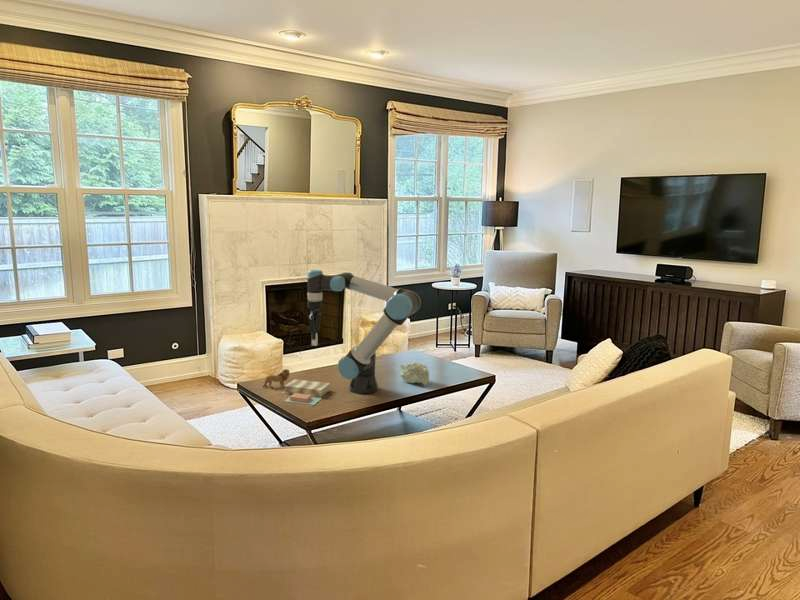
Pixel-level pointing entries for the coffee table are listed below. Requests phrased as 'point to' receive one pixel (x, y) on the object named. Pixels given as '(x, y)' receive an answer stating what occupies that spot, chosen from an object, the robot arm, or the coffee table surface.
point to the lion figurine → (277, 378)
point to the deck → (307, 388)
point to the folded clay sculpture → (415, 373)
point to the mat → (310, 402)
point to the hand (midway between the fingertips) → (314, 345)
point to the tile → (300, 397)
